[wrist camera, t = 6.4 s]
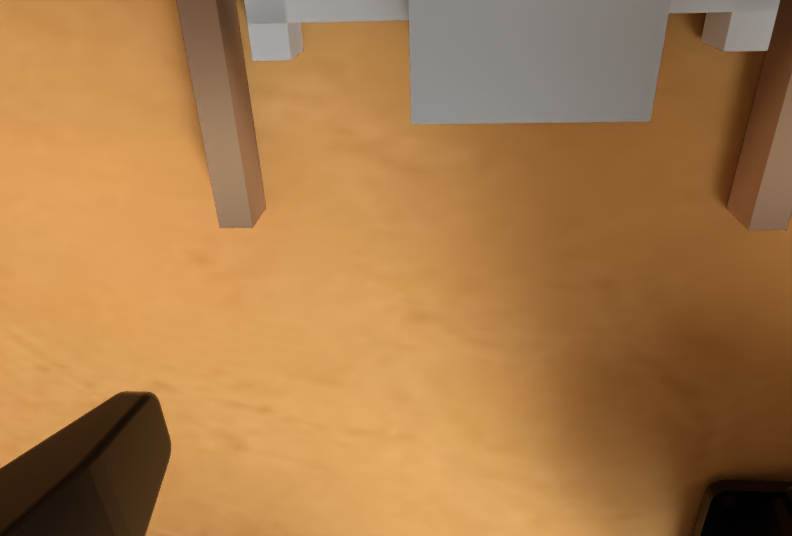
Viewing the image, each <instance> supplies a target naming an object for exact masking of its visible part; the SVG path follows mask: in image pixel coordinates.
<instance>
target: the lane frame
mask: <svg viewBox="0 0 792 536" xmlns="http://www.w3.org/2000/svg"><path fill="white" fill-rule="evenodd" d="M176 1H177V7H178V12H179V17H180V22H181V28H182V33H183V38H184V43H185V49H186V54H187V59H188V64H189V70H190V75H191V80H192V85H193V91H194V96H195V101H196V106H197V112H198V117H199V122H200V127H201V132H202V138H203V143H204V148H205V153H206V159H207V164H208V169H209V174H210V180H211V185H212V190H213V195H214V201H215V206H216V211H217V216H218V222H219V227H220V228H253V227H254V225H255V224H256V222H257V221H258V219H259V218H260V216H261V215H262V213H263V212H264V210H265V209H266V204H265V197H264V190H263V183H262V177H261V170H260V163H259V156H258V149H257V143H256V136H255V129H254V122H253V115H252V109H251V102H250V95H249V88H248V81H247V75H246V68H245V61H244V54H243V48H242V41H241V34H240V27H239V20H238V14H237V7H236V0H176ZM727 209H728V210H729V211H730V212H731V213H732V214H733V215H734V216H735V217H736V218H737V219H738V220H739V221H740V222H741V223H742V224H743V225H744V226H745V227H746V228H747V229H748V230H787V227H788V224H789V220H790V217H791V214H792V0H780V3H779V7H778V11H777V15H776V19H775V23H774V27H773V31H772V35H771V39H770V43H769V47H768V51H766V54H765V58H764V62H763V66H762V70H761V74H760V78H759V82H758V86H757V90H756V94H755V98H754V102H753V106H752V110H751V114H750V118H749V122H748V126H747V130H746V134H745V137H744V141H743V145H742V149H741V153H740V157H739V161H738V165H737V169H736V173H735V177H734V181H733V185H732V189H731V193H730V197H729V201H728V205H727Z"/></svg>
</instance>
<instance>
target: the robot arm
mask: <svg viewBox="0 0 792 536" xmlns="http://www.w3.org/2000/svg"><path fill="white" fill-rule="evenodd" d="M170 453H171V441H170V436H169V433H168V429H167V426H166V422H165V419H164V416H163V412H162V409H161V405H160V402H159V400H158V398H157V396H156V395H155V394H154V393H151V392H135V391H125V392H120V393H118V394H116V395H114V396H113V397H111V398H110V399H108V400H107V401H105V402H104V403H102V404H100V405H99V406H97V407H96V408H94V409H93V410H91V411H89V412H88V413H86V414H85V415H83V416H82V417H80V418H79V419H77V420H75V421H74V422H72V423H71V424H69V425H68V426H66V427H64V428H63V429H61V430H60V431H58V432H57V433H55V434H54V435H52V436H50V437H49V438H47V439H46V440H44V441H43V442H41V443H39V444H38V445H36V446H35V447H33V448H32V449H30V450H29V451H27V452H25V453H24V454H22V455H21V456H19V457H18V458H16V459H14V460H13V461H11V462H10V463H8V464H7V465H5V466H4V467H2V468H0V536H145V535H146V532H147V529H148V525H149V522H150V519H151V516H152V513H153V510H154V506H155V503H156V500H157V497H158V494H159V491H160V488H161V484H162V481H163V478H164V475H165V472H166V469H167V465H168V462H169V459H170ZM692 536H792V482H775V481H748V480H719V481H717V482H714V483H712V484H711V485H710V486H708V488H707V490H706V492H705V495H704V498H703V502H702V505H701V508H700V511H699V515H698V518H697V521H696V524H695V528H694V531H693V534H692Z"/></svg>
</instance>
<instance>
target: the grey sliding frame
mask: <svg viewBox="0 0 792 536" xmlns="http://www.w3.org/2000/svg"><path fill="white" fill-rule="evenodd" d="M244 3H245V10H246V18H247V25H248V32H249V39H250V46H251V53H252V60H253V61H275V60H292V59H293V58H295V57H296V56H297V55H298V54H300V53H301V52H302V51H303V50H304V48H303V38H302V28H301V23H313V22H353V21H394V20H409V47H410V96H411V124H483V123H578V122H650V121H651V115H652V109H653V103H654V97H655V92H656V86H657V80H658V74H659V68H660V62H661V57H662V51H663V45H664V39H665V33H666V28H667V22H668V16H669V14H674V13H706V18H705V23H704V28H703V33H702V38H701V42H702V43H705V44H707V45H709V46H712V47H714V48H716V49H719V50H721V51H723V52H732V51H768V47H769V43H770V39H771V35H772V31H773V27H774V23H775V19H776V15H777V11H778V7H779V3H780V0H244Z"/></svg>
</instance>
